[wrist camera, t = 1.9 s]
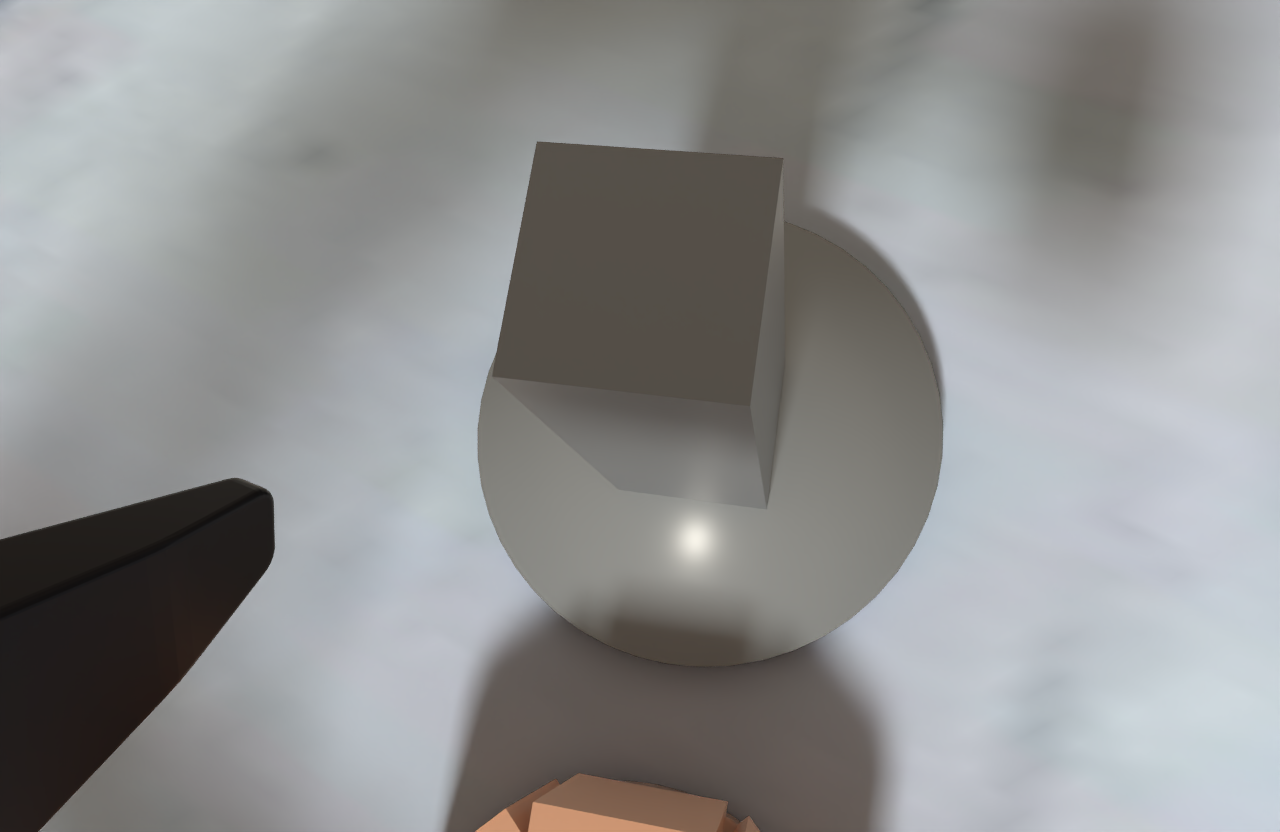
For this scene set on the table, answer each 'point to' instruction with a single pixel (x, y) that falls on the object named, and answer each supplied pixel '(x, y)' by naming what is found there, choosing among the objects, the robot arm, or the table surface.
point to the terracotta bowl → (615, 809)
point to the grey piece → (700, 410)
